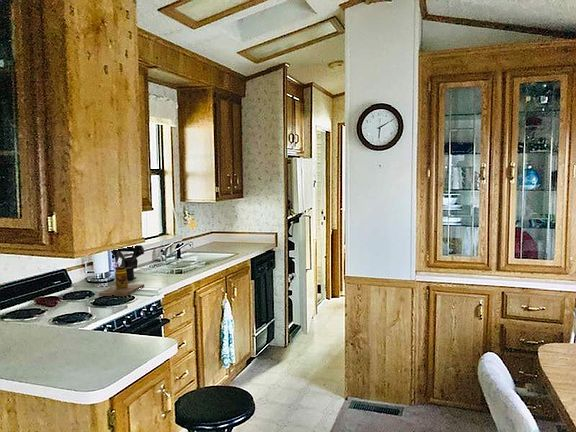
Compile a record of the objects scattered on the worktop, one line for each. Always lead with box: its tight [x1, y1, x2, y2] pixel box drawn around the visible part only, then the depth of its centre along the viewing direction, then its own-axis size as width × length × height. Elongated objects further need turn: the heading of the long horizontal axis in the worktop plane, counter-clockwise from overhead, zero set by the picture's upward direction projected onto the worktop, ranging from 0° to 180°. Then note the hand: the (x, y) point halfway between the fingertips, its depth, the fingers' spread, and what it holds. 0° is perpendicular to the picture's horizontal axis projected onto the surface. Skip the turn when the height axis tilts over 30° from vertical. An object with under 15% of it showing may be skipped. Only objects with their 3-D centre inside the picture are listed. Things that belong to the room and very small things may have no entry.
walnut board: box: [98, 283, 145, 297], centre depth 277 cm, size 20×16×2 cm
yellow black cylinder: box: [113, 265, 130, 290], centre depth 276 cm, size 7×8×12 cm
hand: (123, 262), depth 289 cm, fingers open, 9 cm apart
